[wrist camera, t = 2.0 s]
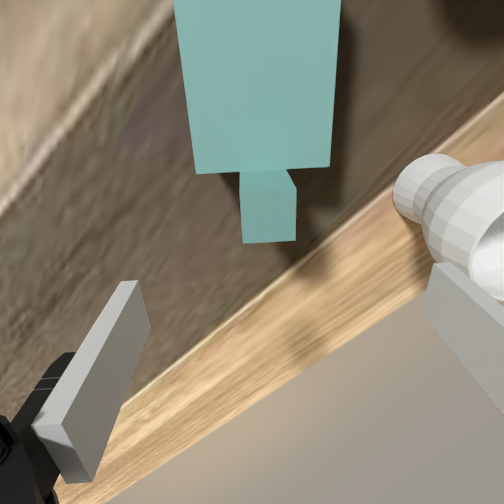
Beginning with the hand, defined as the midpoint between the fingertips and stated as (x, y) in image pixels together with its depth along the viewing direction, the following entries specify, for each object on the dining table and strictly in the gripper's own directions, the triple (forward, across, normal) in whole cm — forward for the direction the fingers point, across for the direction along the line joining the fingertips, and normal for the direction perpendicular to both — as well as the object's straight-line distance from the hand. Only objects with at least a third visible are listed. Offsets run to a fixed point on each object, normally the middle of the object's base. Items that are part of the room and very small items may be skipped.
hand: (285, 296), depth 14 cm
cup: (+23, +19, -3) cm, 30 cm away
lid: (+17, 0, +8) cm, 19 cm away
